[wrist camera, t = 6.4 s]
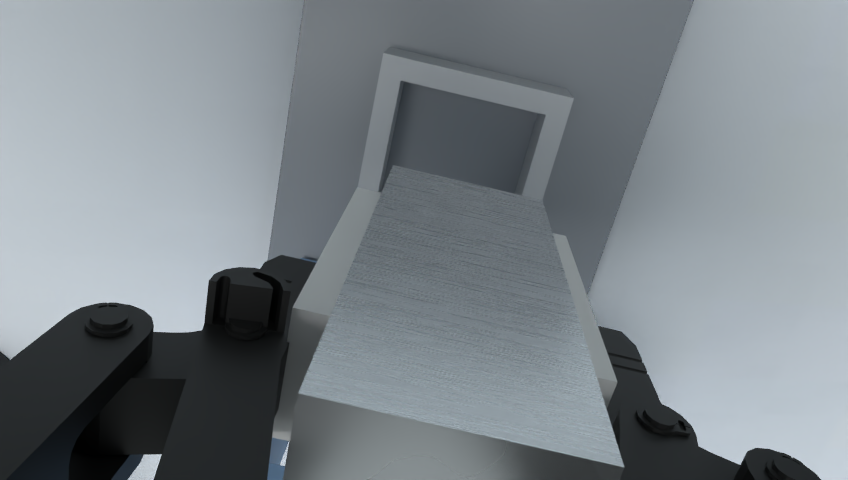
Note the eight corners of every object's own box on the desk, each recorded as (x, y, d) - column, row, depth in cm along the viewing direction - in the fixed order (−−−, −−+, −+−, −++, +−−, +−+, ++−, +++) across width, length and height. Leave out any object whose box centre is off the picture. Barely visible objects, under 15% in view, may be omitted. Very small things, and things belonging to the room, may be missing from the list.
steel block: (364, 298, 19) (257, 621, 9) (393, 165, 17) (298, 393, 8) (502, 329, 19) (530, 681, 9) (542, 200, 17) (624, 466, 8)
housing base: (352, -253, 23) (330, -295, 20) (732, -159, 24) (781, -182, 20) (258, 386, 34) (232, 437, 30) (520, 445, 34) (525, 503, 31)
